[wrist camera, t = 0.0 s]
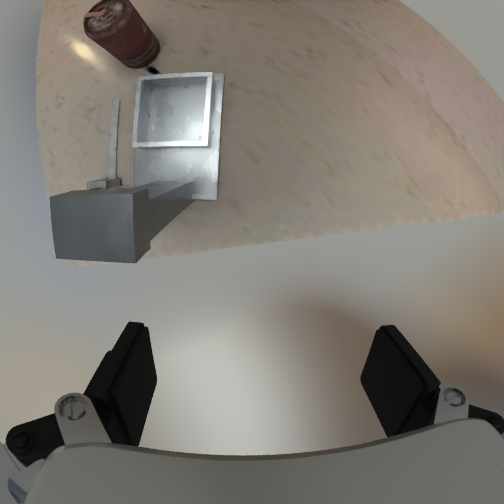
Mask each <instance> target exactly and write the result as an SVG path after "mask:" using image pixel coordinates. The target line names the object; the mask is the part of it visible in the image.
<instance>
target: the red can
mask: <svg viewBox="0 0 504 504" xmlns="http://www.w3.org/2000/svg"><path fill="white" fill-rule="evenodd" d="M84 31H85V33H86V35H87V36H88V37H89V38H90V39H92V40H93V41H95V42H96V43H97V44H99V45H100V46H101V47H103V48H104V49H105V50H107V51H108V52H109V53H111V54H112V55H113V56H115V57H116V58H117V59H118V60H120V61H121V62H122V63H124V64H125V65H126V66H128V67H131V68H140V67H142V66H145V65H147V64H148V63H150V62H151V61H152V60H153V59H154V58H155V57H156V55H157V53H158V51H159V41H158V40H157V38H156V37H155V36H154V34H153V33H152V31H151V30H150V28H149V27H148V26H147V24H146V23H145V21H144V20H143V19H142V17H141V16H140V15H139V13H138V12H137V10H136V9H135V8H134V6H133V5H132V4H131V2H130V1H129V0H102V1H100V2H98V3H97V4H96V5H94V6H93V7H92V8H91V9H90V10H89V12H88V13H87V14H86V15H85V16H84Z"/></svg>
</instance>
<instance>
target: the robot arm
mask: <svg viewBox="0 0 504 504" xmlns="http://www.w3.org/2000/svg"><path fill="white" fill-rule="evenodd" d="M440 383H441V382H440V381H439V380H438V378H437V377H436V376H435V375H434V373H433V372H432V371H431V369H430V368H429V367H428V366H427V364H426V363H425V362H424V361H423V359H422V358H421V357H420V356H419V354H418V353H417V352H416V351H415V349H414V348H413V347H412V346H411V345H410V343H409V342H408V341H407V340H406V339H405V337H404V336H403V335H402V334H401V333H400V332H399V330H398V329H397V328H396V327H395V326H394V325H386V326H381V327H380V328H379V329H378V330H377V331H376V333H375V336H374V339H373V343H372V346H371V349H370V352H369V355H368V357H367V360H366V363H365V366H364V369H363V371H362V374H361V384H362V386H363V388H364V390H365V392H366V394H367V396H368V398H369V400H370V402H371V404H372V406H373V408H374V410H375V412H376V414H377V417H378V419H379V420H380V423H381V425H382V427H383V429H384V431H385V433H386V435H387V437H388V438H384V439H380V440H375V441H371V442H367V443H362V444H357V445H352V446H346V447H340V448H334V449H328V450H320V451H312V452H303V453H292V454H278V455H252V456H251V455H248V456H247V455H246V456H240V455H239V456H237V455H209V454H194V453H184V452H174V451H165V450H157V449H151V448H144V447H138V446H139V442H140V439H141V436H142V432H143V428H144V425H145V421H146V418H147V414H148V411H149V407H150V404H151V401H152V397H153V393H154V390H155V387H156V384H157V375H156V370H155V365H154V360H153V354H152V348H151V342H150V336H149V329H148V327H144V324H143V323H139V322H128V324H127V325H126V327H125V329H124V330H123V332H122V334H121V335H120V337H119V339H118V341H117V342H116V344H115V346H114V347H113V349H112V351H108V352H107V353H106V354H105V356H104V358H103V360H102V361H101V363H100V365H99V367H98V368H97V370H96V372H95V374H94V375H93V377H92V380H91V381H90V383H89V385H88V387H87V388H86V390H85V392H84V394H80V393H69V394H66V395H64V396H62V397H61V398H60V399H58V401H57V402H56V404H55V408H54V409H55V413H54V414H51V415H48V416H45V417H42V418H39V419H36V420H33V421H30V422H27V423H24V424H20V425H17V426H15V427H13V428H12V429H11V430H10V431H9V432H8V434H7V437H6V443H5V444H4V445H3V444H2V443H1V442H0V504H504V419H503V418H502V417H501V416H500V415H499V414H497V413H495V412H491V411H488V410H485V409H481V408H479V407H476V406H472V405H469V398H468V396H467V394H466V392H465V391H463V390H462V389H461V388H459V387H457V386H452V385H450V386H445V387H443V388H442V389H440V388H439V385H440Z"/></svg>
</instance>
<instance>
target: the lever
mask: <svg viewBox="0 0 504 504" xmlns="http://www.w3.org/2000/svg"><path fill="white" fill-rule="evenodd" d="M117 186H120V178H114V179H100V180H95V181H90V182H87V190H97V189H110V188H113V187H117Z"/></svg>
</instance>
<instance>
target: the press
mask: <svg viewBox="0 0 504 504" xmlns="http://www.w3.org/2000/svg"><path fill="white" fill-rule="evenodd" d="M223 89H224V74H216V73H213V72H192V73H172V74H159V75H148V76H139V77H138V81H137V90H136V100H135V110H134V123H133V140H132V148H135V158H134V187H133V188H132V187H131V186H129V185H121V186H117V187H113V188H110V189H97V190H78V191H70V192H67V193H63V194H59V195H55V196H52V197H50V209H51V221H52V231H53V239H54V247H55V254H56V258H57V259H71V260H87V261H104V262H121V263H137V262H138V261H139V259H140V258H141V257H142V256H143V255H144V254H145V253H146V252H147V251H148V250H149V249H150V241H151V240H152V239H153V238H154V237H155V236H156V235H157V234H158V233H159V232H160V231H161V230H162V229H163V228H164V227H165V226H167V225H168V224H169V223H170V222H171V221H172V220H173V219H174V218H175V217H176V216H177V215H178V214H180V213H181V212H182V211H183V210H184V209H185V208H186V207H187V206H188V205H189V204H191V203H192V202H193V199H207V200H217V197H218V172H219V151H220V133H221V117H222V103H223ZM119 111H120V100H115V101H112V110H111V123H110V139H109V179H114V178H117V140H118V123H119Z"/></svg>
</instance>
